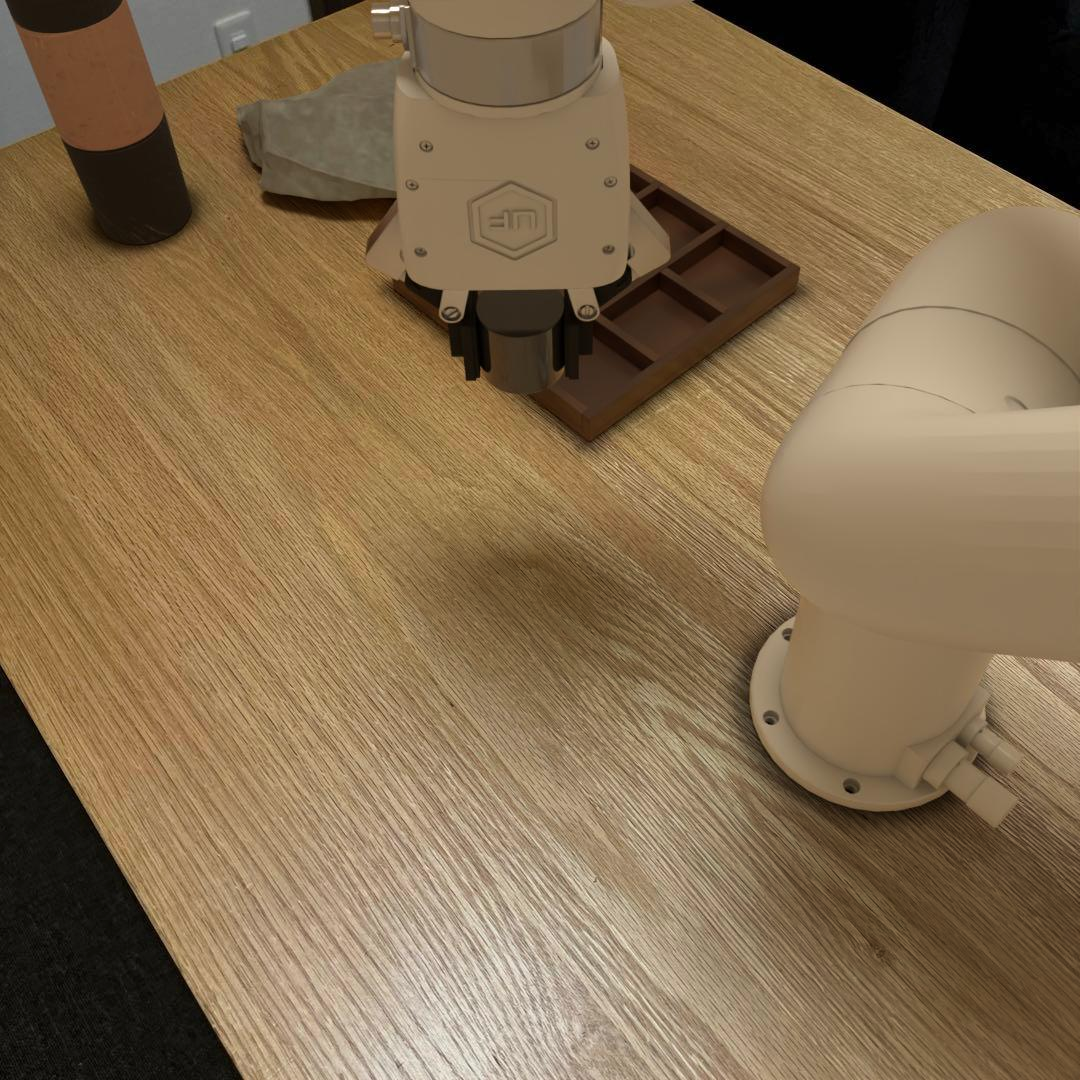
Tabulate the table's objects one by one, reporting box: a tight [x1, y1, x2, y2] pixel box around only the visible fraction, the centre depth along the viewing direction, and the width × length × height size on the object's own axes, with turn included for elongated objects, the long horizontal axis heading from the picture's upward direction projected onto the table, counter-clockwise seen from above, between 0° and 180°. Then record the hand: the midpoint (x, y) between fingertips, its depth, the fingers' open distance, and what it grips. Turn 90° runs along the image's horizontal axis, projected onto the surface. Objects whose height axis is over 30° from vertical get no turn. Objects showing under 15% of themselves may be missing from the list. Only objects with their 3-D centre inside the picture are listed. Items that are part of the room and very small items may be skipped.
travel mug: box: [4, 0, 192, 245], centre depth 86 cm, size 8×8×20 cm
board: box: [391, 162, 801, 442], centre depth 86 cm, size 21×21×2 cm
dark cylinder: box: [476, 289, 565, 395], centre depth 60 cm, size 4×4×4 cm
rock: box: [235, 57, 402, 202], centre depth 96 cm, size 27×6×20 cm
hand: (522, 358), depth 61 cm, fingers closed on dark cylinder, 4 cm apart
